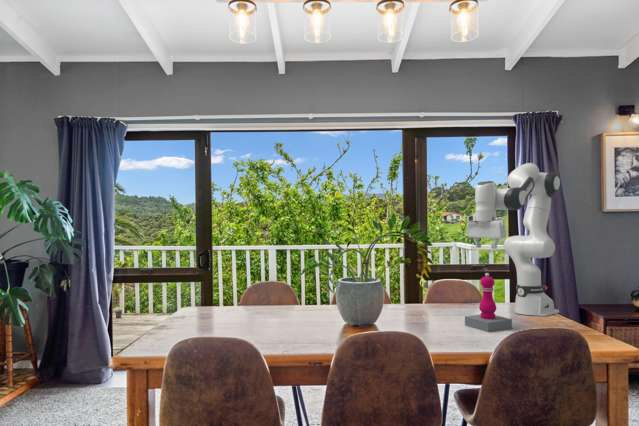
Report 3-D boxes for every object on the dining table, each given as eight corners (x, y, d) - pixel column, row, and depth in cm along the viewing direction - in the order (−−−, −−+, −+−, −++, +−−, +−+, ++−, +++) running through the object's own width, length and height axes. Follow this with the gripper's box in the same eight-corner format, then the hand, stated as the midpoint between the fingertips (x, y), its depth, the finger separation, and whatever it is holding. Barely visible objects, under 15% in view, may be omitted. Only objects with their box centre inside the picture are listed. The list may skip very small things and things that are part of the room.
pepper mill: (497, 319, 206) (497, 274, 206) (480, 319, 207) (479, 273, 207) (495, 316, 213) (494, 272, 213) (478, 315, 214) (477, 271, 214)
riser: (488, 322, 219) (487, 313, 219) (512, 328, 207) (511, 319, 207) (464, 325, 213) (464, 316, 213) (488, 332, 201) (488, 322, 201)
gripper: (509, 217, 203) (509, 249, 203) (474, 217, 222) (475, 246, 221) (498, 217, 200) (499, 249, 200) (464, 217, 219) (464, 247, 219)
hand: (486, 248), depth 211 cm, fingers open, 8 cm apart
